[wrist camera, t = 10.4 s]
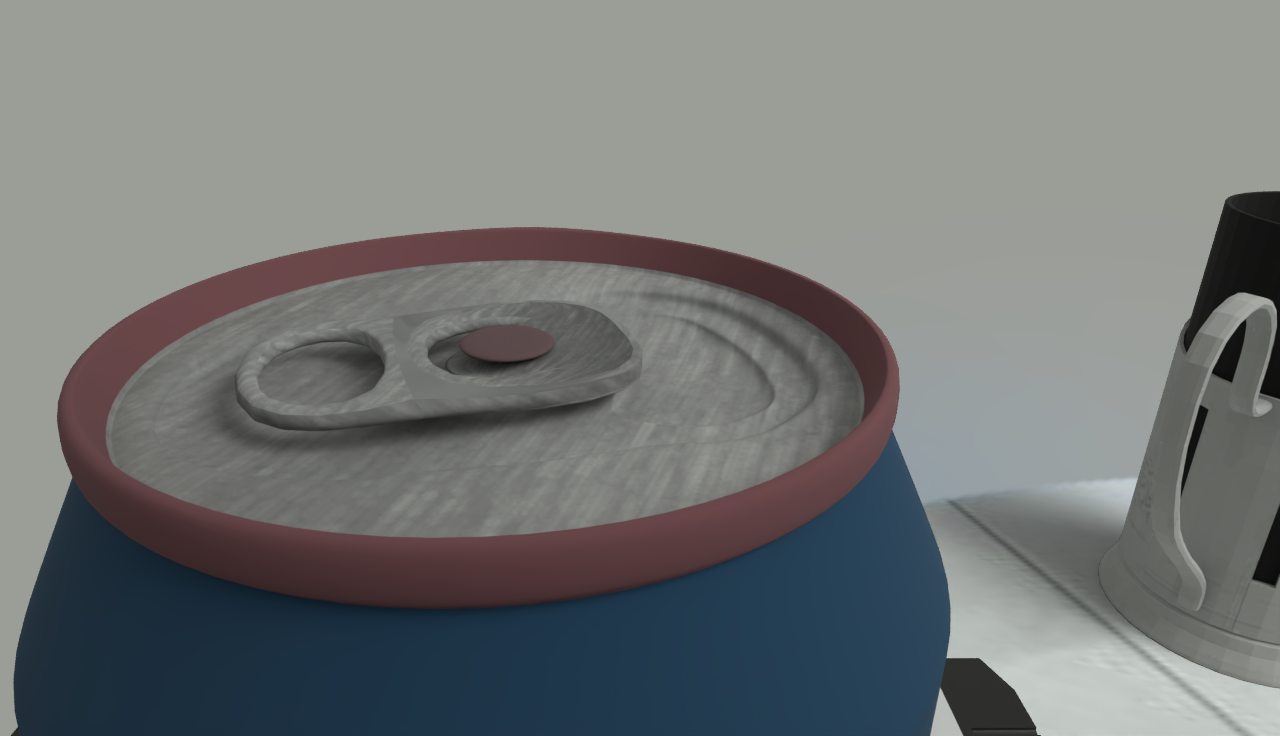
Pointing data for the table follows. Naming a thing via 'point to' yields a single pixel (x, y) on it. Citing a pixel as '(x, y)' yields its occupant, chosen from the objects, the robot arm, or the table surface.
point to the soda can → (487, 504)
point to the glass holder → (1215, 468)
